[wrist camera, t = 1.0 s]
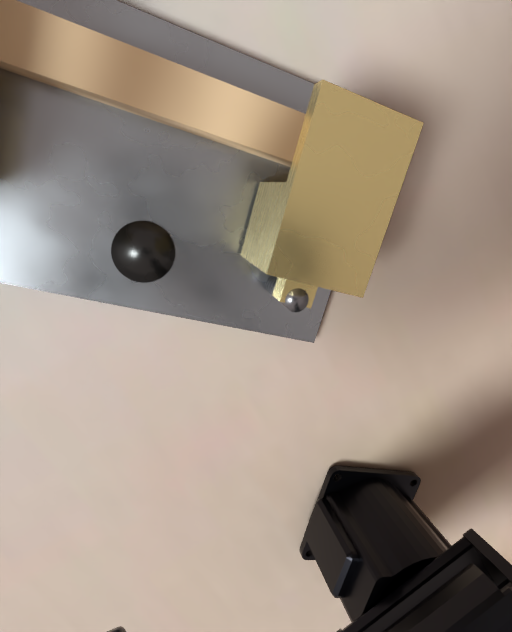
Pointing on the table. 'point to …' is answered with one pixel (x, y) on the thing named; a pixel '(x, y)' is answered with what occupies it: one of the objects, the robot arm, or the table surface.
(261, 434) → the table surface
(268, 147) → the divider beam
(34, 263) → the flange plate
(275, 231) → the sliding head
